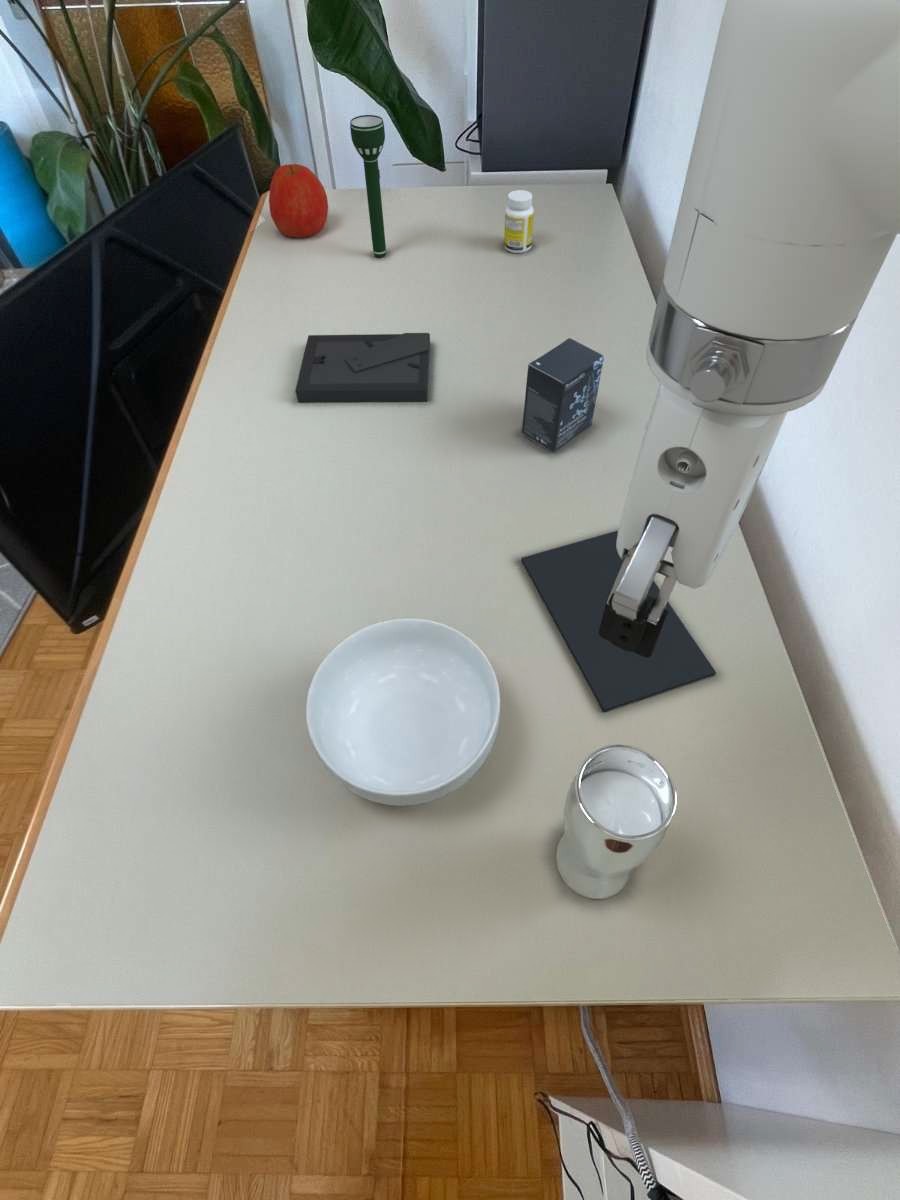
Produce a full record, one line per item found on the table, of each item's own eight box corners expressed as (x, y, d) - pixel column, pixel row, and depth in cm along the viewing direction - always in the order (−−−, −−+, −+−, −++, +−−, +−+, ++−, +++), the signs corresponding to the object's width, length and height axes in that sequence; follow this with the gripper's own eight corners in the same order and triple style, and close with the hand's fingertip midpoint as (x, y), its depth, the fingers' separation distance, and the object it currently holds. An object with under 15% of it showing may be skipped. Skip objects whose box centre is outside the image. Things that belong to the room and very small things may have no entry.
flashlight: (401, 254, 120) (390, 119, 104) (380, 265, 117) (366, 130, 101) (379, 245, 122) (366, 112, 106) (359, 256, 119) (342, 122, 103)
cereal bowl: (322, 664, 69) (309, 623, 64) (487, 652, 70) (489, 610, 64) (314, 833, 59) (298, 802, 54) (508, 817, 60) (513, 785, 54)
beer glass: (533, 863, 57) (550, 793, 45) (583, 802, 60) (612, 722, 48) (603, 925, 54) (641, 867, 42) (652, 858, 57) (701, 786, 45)
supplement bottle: (523, 238, 122) (526, 186, 115) (536, 250, 119) (540, 197, 113) (499, 244, 121) (500, 192, 114) (511, 256, 118) (513, 203, 112)
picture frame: (430, 345, 103) (310, 346, 103) (429, 331, 101) (307, 333, 101) (427, 401, 95) (297, 402, 95) (426, 387, 93) (294, 389, 93)
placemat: (714, 675, 68) (716, 672, 67) (603, 712, 66) (604, 709, 65) (618, 533, 79) (619, 529, 79) (521, 561, 77) (521, 557, 77)
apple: (332, 215, 129) (323, 151, 121) (329, 241, 123) (319, 177, 115) (277, 217, 129) (264, 154, 121) (271, 244, 123) (257, 179, 114)
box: (554, 455, 88) (563, 383, 79) (520, 434, 90) (525, 362, 82) (593, 426, 91) (606, 354, 82) (559, 407, 93) (569, 335, 85)
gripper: (777, 488, 23) (663, 725, 37) (882, 261, 32) (759, 520, 46) (572, 417, 26) (536, 663, 39) (722, 225, 35) (650, 480, 48)
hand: (656, 586), depth 43 cm, fingers open, 9 cm apart
